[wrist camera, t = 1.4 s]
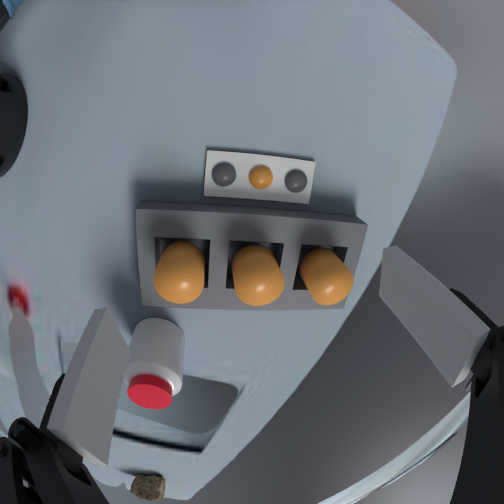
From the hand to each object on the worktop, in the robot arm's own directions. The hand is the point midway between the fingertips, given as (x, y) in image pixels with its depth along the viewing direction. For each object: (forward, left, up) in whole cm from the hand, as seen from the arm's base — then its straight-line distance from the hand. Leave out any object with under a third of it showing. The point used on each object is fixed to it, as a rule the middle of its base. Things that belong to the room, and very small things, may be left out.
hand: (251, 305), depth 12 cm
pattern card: (+3, +2, -20) cm, 21 cm away
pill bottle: (-9, -21, -21) cm, 31 cm away
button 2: (-5, -7, -18) cm, 20 cm away
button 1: (+11, -7, -18) cm, 22 cm away
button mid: (+3, -7, -18) cm, 20 cm away
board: (+3, -7, -20) cm, 22 cm away
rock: (-22, -91, -21) cm, 96 cm away
